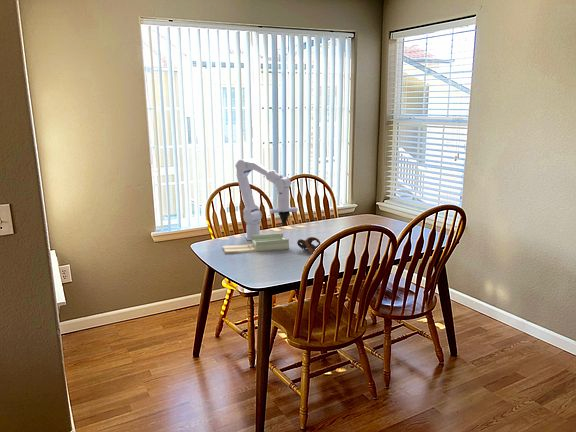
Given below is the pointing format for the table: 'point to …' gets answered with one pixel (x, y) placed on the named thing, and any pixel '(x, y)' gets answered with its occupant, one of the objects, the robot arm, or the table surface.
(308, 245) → the brown looped figurine
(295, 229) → the table surface
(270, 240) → the green tray
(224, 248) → the cover plate
